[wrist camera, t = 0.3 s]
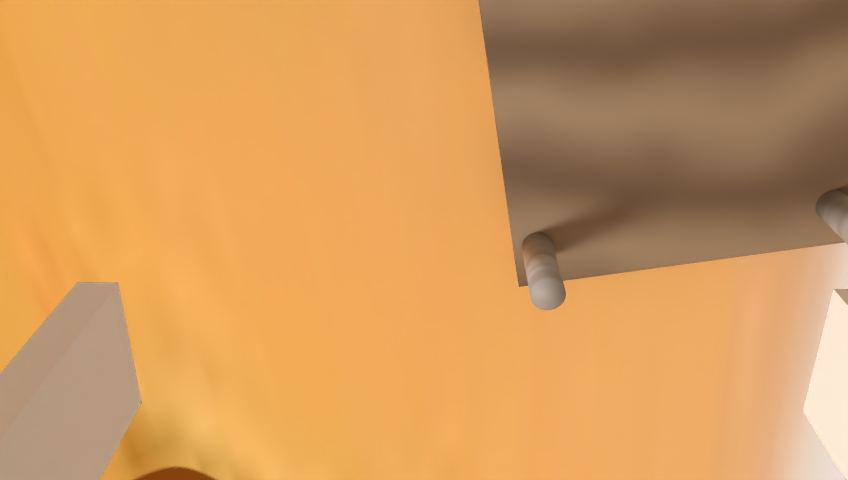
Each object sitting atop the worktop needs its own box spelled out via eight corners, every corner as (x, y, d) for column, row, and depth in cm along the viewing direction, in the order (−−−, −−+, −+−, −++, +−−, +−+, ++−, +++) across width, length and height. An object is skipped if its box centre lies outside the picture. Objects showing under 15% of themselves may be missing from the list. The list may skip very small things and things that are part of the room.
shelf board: (446, -230, 34) (446, -247, 28) (866, -315, 32) (968, -354, 26) (516, 268, 44) (527, 338, 38) (837, 224, 42) (905, 289, 36)
